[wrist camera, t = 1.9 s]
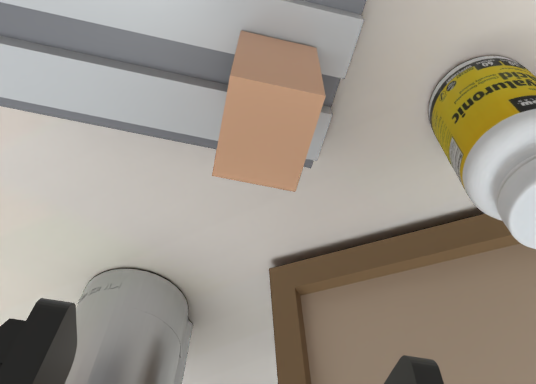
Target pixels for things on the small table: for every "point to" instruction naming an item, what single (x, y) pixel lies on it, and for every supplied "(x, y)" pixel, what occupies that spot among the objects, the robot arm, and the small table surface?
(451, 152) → the supplement bottle
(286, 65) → the fader knob
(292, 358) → the photo frame
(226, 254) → the small table surface
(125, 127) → the board
